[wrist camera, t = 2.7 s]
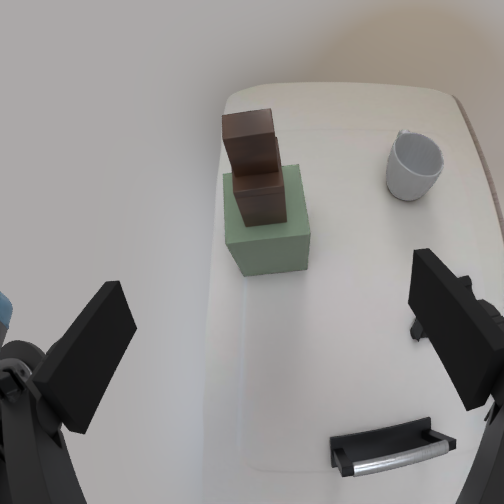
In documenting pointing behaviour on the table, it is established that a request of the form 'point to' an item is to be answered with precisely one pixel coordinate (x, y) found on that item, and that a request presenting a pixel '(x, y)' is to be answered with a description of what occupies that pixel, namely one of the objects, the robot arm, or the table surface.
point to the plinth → (269, 232)
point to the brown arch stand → (255, 167)
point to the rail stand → (388, 448)
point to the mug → (413, 165)
